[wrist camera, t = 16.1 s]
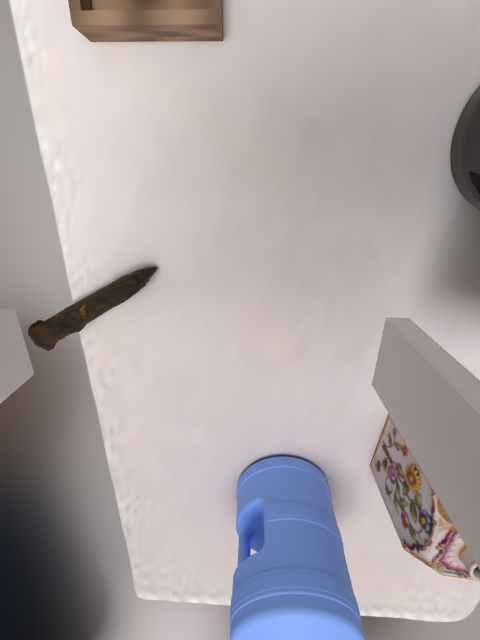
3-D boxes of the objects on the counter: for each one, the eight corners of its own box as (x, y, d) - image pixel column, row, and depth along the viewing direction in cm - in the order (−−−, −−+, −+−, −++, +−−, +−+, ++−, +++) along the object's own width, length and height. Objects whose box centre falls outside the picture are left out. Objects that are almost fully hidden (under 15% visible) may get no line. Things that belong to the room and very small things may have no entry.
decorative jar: (465, 418, 47) (578, 544, 31) (438, 473, 52) (523, 608, 36) (387, 409, 47) (458, 531, 31) (366, 465, 52) (418, 597, 35)
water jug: (324, 448, 51) (395, 719, 25) (330, 513, 57) (392, 784, 31) (229, 457, 52) (206, 720, 27) (245, 519, 59) (238, 781, 33)
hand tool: (59, 341, 45) (39, 358, 41) (40, 318, 44) (17, 333, 40) (169, 284, 41) (160, 297, 37) (152, 257, 40) (141, 267, 35)
